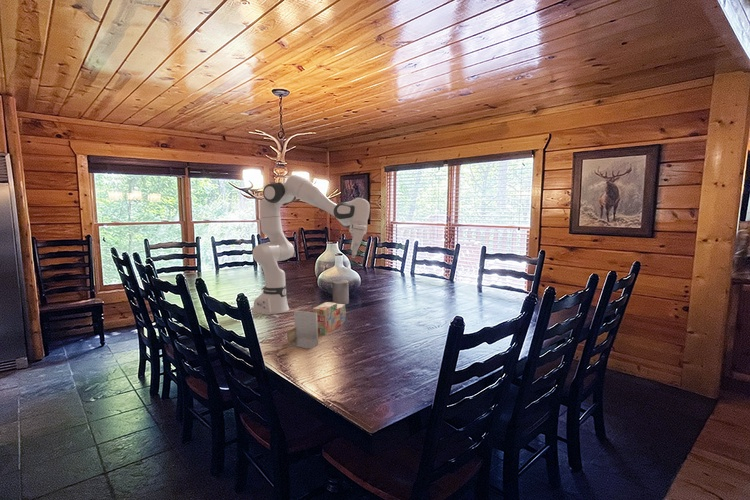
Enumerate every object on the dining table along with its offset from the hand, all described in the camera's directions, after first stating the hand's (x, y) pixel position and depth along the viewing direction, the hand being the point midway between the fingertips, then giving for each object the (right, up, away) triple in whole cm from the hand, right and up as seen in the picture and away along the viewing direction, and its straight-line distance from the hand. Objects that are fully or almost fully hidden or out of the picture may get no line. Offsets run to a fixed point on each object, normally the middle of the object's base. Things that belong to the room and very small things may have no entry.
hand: (353, 256), depth 195 cm
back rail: (-21, -36, -10) cm, 42 cm away
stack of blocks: (-11, -35, -3) cm, 37 cm away
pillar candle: (-10, -29, +42) cm, 52 cm away
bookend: (-20, -38, -27) cm, 51 cm away
